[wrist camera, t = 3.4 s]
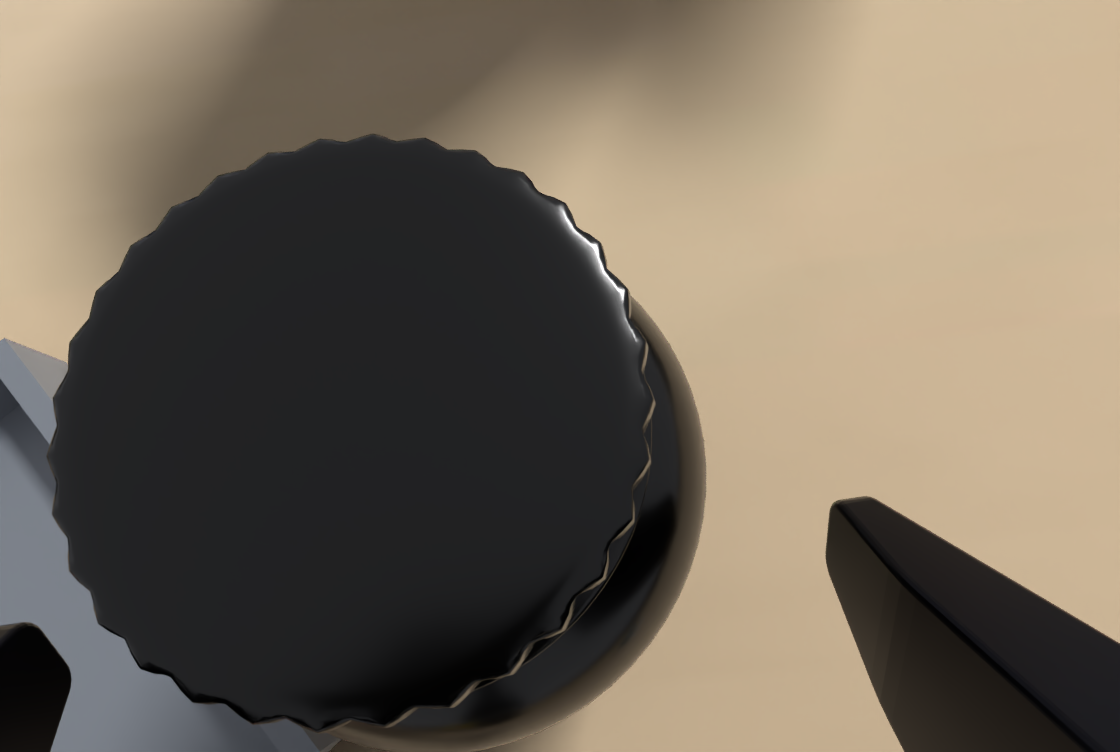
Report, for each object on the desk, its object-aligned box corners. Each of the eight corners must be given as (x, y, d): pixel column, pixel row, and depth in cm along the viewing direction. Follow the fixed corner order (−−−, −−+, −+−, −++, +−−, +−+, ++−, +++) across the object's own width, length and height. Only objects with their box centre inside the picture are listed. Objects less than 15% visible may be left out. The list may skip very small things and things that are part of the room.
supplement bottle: (314, 529, 17) (-269, 455, 5) (496, 326, 18) (343, -92, 7) (524, 726, 16) (351, 1195, 4) (705, 493, 17) (974, 338, 5)
